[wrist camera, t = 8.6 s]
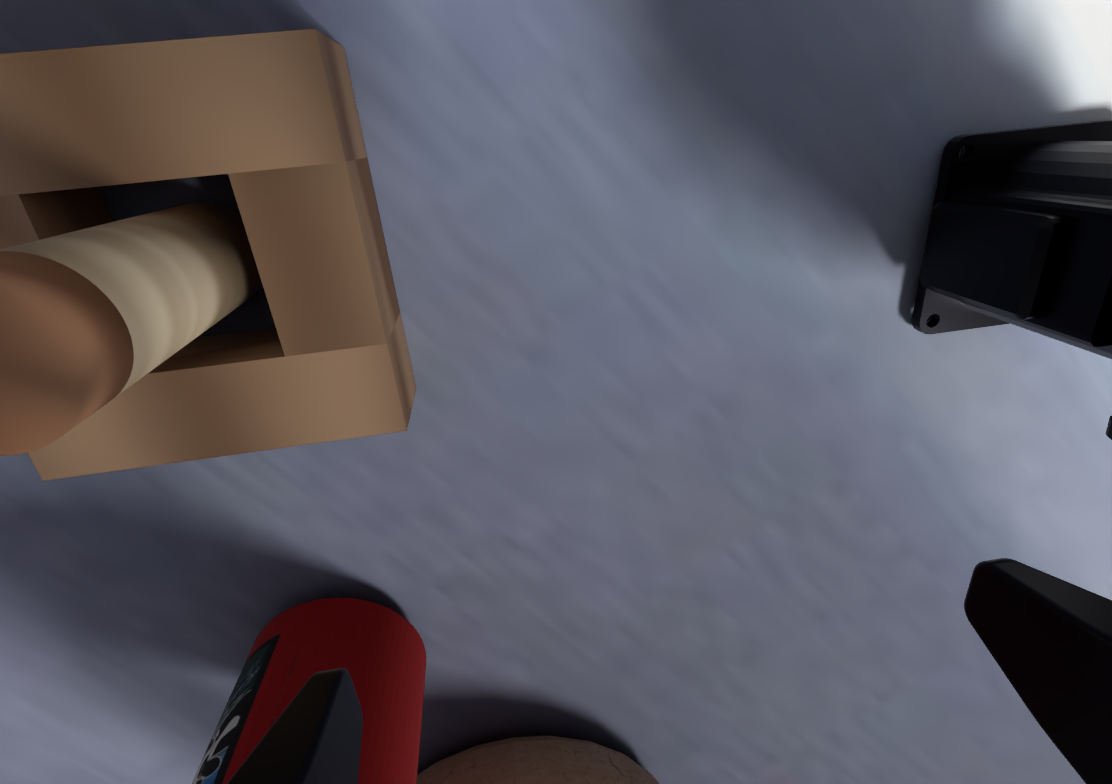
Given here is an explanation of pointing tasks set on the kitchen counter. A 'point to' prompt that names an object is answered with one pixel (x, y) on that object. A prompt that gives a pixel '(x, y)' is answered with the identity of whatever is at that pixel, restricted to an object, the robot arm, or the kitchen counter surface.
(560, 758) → the potted plant
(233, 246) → the wooden dowel
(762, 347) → the kitchen counter surface
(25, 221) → the square wooden frame
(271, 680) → the beverage can
